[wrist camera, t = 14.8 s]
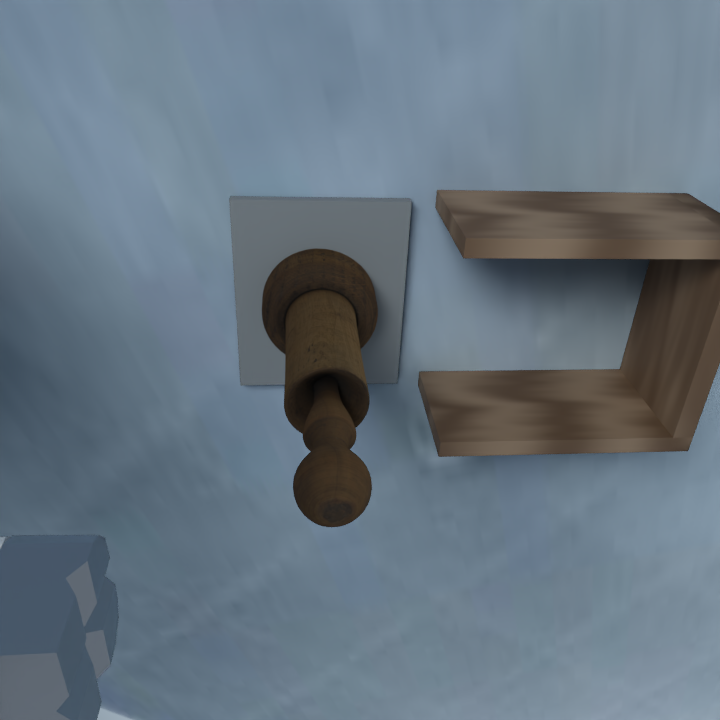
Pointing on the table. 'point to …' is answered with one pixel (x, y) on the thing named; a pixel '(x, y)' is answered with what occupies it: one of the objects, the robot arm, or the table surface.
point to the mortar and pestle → (324, 374)
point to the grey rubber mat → (318, 231)
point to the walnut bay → (645, 343)
